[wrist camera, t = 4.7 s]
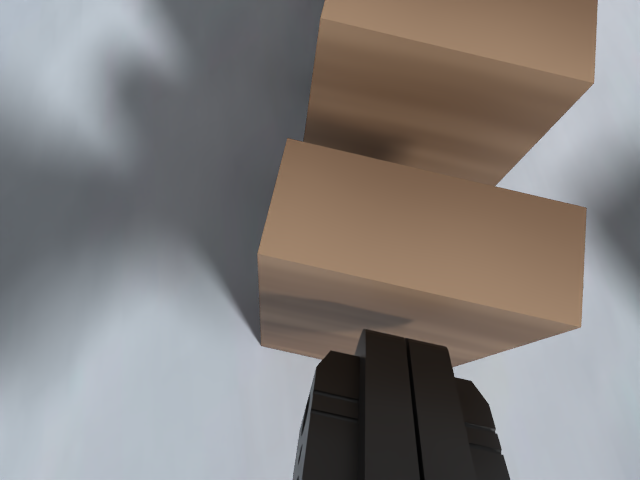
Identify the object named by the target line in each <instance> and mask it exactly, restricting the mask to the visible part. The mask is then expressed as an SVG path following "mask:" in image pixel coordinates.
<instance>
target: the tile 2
mask: <svg viewBox="0 0 640 480" xmlns="http://www.w3.org/2000/svg"><path fill="white" fill-rule="evenodd" d="M597 5H598V0H325V2H324V6H323V10H322V14H321V18H320V24H319V32H318V39H317V46H316V54H315V61H314V68H313V75H312V83H311V90H310V97H309V104H308V112H307V119H306V126H305V133H304V141H303V142H306V143H310V144H315V145H319V146H323V147H328V148H332V149H336V150H340V151H345V152H349V153H353V154H358V155H362V156H366V157H371V158H375V159H379V160H383V161H388V162H392V163H396V164H401V165H405V166H409V167H414V168H418V169H422V170H426V171H431V172H435V173H439V174H444V175H448V176H452V177H457V178H461V179H465V180H469V181H474V182H478V183H482V184H487V185H491V186H496V185H497V183H498V182H499V181H500V180H501V179H502V178H503V177H504V176H505V175H506V174H507V173H508V172H509V171H510V170H511V169H512V168H513V167H514V166H515V165H516V164H517V163H518V162H519V161H520V160H521V159H522V158H523V156H524V155H525V154H526V153H527V152H528V151H529V150H530V149H531V148H532V147H533V146H534V145H535V144H536V143H537V142H538V141H539V140H540V139H541V138H542V137H543V136H544V135H545V134H546V133H547V132H548V130H549V129H550V128H551V127H552V126H553V125H554V124H555V123H556V122H557V121H558V120H559V119H560V118H561V117H562V116H563V115H564V114H565V113H566V112H567V111H568V110H569V109H570V108H571V107H572V106H573V104H574V103H575V102H576V101H577V100H578V99H579V98H580V97H581V96H582V95H583V94H584V93H585V92H586V91H587V90H588V89H589V88H590V87H591V86H592V85H593V84H594V73H595V50H596V27H597Z"/></svg>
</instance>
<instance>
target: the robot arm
mask: <svg viewBox="0 0 640 480" xmlns="http://www.w3.org/2000/svg"><path fill="white" fill-rule="evenodd" d="M495 430H496V428H495V425H494V421H493V418H492V414H491V411H490V407H489V404H488V403H487V401H486V400H485V399H484V397H483V396H482V395H481V393H480V392H479V391H478V389H477V388H476V387H475V385H474V384H473V383H472V381H469V380H464V379H460V378H455V377H454V373H453V369H452V364H451V359H450V355H449V351H448V348H447V347H446V346H442V345H437V344H433V343H428V342H424V341H419V340H415V339H410V338H405V339H404V337H400V336H396V335H391V334H387V333H382V332H378V331H373V330H369V329H363V331H362V333H361V335H360V338H359V341H358V345H357V348H356V352H355V355H350V354H345V353H341V352H336V351H332V350H331V351H330V352H329V353H328V354H327V355H326V356H325V358H324V359H323V360H322V361H321V362H320V363H319V365H318V366H317V367H316V371H315V375H314V378H313V382H312V386H311V390H310V394H309V397H308V401H307V405H306V409H305V413H304V417H303V420H302V424H301V428H300V433H299V440H298V446H297V453H296V460H295V466H294V473H293V480H510V477H509V474H508V470H507V467H506V463H505V460H504V456H503V455H501V450H502V449H501V446H500V442H499V439H498V435H497V434H495Z"/></svg>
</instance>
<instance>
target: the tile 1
mask: <svg viewBox="0 0 640 480" xmlns="http://www.w3.org/2000/svg"><path fill="white" fill-rule="evenodd" d="M586 209H587V208H586V207H581V206H577V205H573V204H568V203H564V202H560V201H555V200H551V199H547V198H543V197H538V196H534V195H530V194H525V193H521V192H517V191H512V190H508V189H504V188H500V187H495V186H491V185H487V184H482V183H478V182H474V181H469V180H465V179H461V178H457V177H452V176H448V175H444V174H439V173H435V172H431V171H426V170H422V169H418V168H414V167H409V166H405V165H401V164H396V163H392V162H388V161H383V160H379V159H375V158H371V157H366V156H362V155H358V154H353V153H349V152H345V151H340V150H336V149H332V148H328V147H323V146H319V145H315V144H310V143H306V142H302V141H298V140H293V139H289V138H287V141H286V145H285V149H284V153H283V157H282V160H281V164H280V168H279V172H278V176H277V180H276V184H275V187H274V191H273V195H272V199H271V203H270V207H269V211H268V215H267V218H266V222H265V226H264V230H263V234H262V238H261V242H260V245H259V249H258V253H257V256H258V282H259V307H260V332H261V346H264V347H268V348H273V349H277V350H282V351H286V352H291V353H295V354H300V355H304V356H309V357H313V358H318V359H322V360H323V359H324V358H325V356H326V355H327V354H328V353H329V352H330V351H331V350H332V351H336V352H341V353H345V354H350V355H355V352H356V348H357V345H358V341H359V338H360V335H361V333H362V331H363V329H369V330H373V331H378V332H382V333H387V334H391V335H396V336H400V337H404V339H405V338H410V339H415V340H419V341H424V342H428V343H433V344H437V345H442V346H446V347H447V348H448V351H449V355H450V359H451V364H452V367H455V366H458V365H461V364H464V363H468V362H471V361H474V360H477V359H481V358H484V357H487V356H490V355H493V354H497V353H500V352H503V351H506V350H510V349H513V348H516V347H519V346H522V345H526V344H529V343H532V342H535V341H538V340H542V339H545V338H548V337H551V336H555V335H558V334H561V333H564V332H567V331H571V330H574V329H577V328H580V327H581V319H582V297H583V275H584V253H585V231H586Z"/></svg>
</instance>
